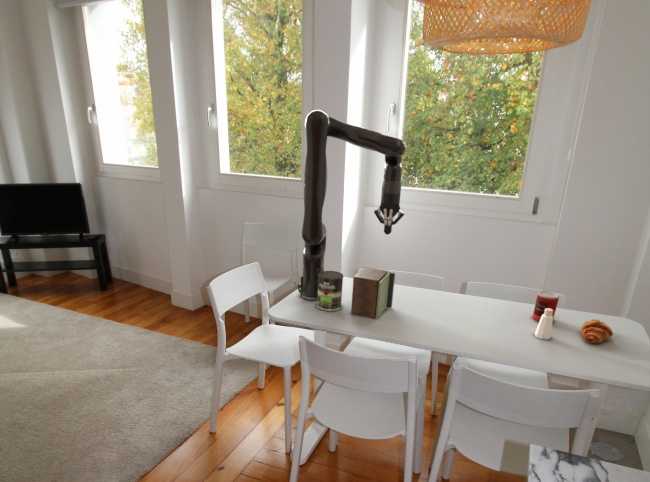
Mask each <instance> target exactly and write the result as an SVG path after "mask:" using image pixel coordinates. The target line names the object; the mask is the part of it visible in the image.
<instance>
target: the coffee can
mask: <svg viewBox="0 0 650 482" xmlns="http://www.w3.org/2000/svg"><path fill="white" fill-rule="evenodd" d="M343 282H344V274H343V273H342V272H339V271H336V270H324V271H323V272H320V273H319V274H318V300H317V304H316V307H317V308H318V309H319V310H322V311H325V312H326V311H327V312H335V311H339V310H340V309H341V308H342V301H343V300H342V299H343V298H342V297H343Z"/></svg>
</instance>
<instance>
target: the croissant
mask: <svg viewBox="0 0 650 482" xmlns="http://www.w3.org/2000/svg"><path fill="white" fill-rule="evenodd" d="M580 329H581V336H582V337H583V339H584V341H585V342H586V343H588V344H600V343H603V342H605V341H607V340H608V339H610V338H611V337H612V336H613V334H614V331H613V329H612V328H611V327H610V326H609V325H608V324H606V323H605V322H604V321H602V320H600V319H591V320H587V321H585V322H584V323H583V324H582V325H581V328H580Z"/></svg>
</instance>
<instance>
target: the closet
mask: <svg viewBox="0 0 650 482" xmlns="http://www.w3.org/2000/svg"><path fill="white" fill-rule="evenodd" d="M388 273H389V270H385V269H378V268H373V267H372V268H371V267H363V268H362V269H361V270H360V271H358V272H357V273H356V274H355V275H354V276H353V277H352V278H353V279H352V281H353V282H352V296H351V307H350V308H351V310H350V315H353V316H354V315H355V316H360V317H364V318H369V319H373V320H374V319H377V318H376V308H377V297H378V286H379V282H380V281H381V280H382V279H383V278H384V277H385V276H386V275H387V274H388Z"/></svg>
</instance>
